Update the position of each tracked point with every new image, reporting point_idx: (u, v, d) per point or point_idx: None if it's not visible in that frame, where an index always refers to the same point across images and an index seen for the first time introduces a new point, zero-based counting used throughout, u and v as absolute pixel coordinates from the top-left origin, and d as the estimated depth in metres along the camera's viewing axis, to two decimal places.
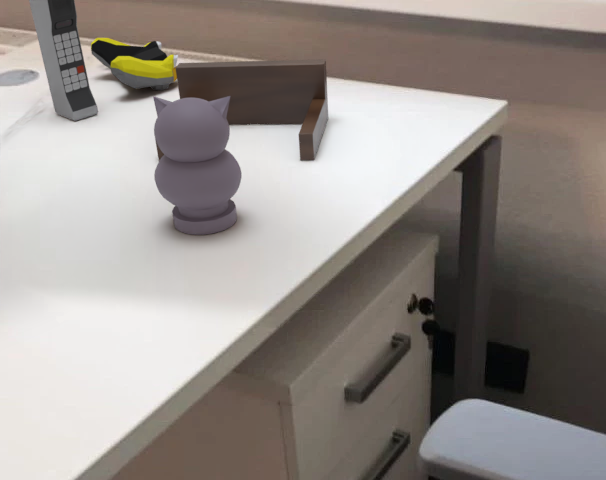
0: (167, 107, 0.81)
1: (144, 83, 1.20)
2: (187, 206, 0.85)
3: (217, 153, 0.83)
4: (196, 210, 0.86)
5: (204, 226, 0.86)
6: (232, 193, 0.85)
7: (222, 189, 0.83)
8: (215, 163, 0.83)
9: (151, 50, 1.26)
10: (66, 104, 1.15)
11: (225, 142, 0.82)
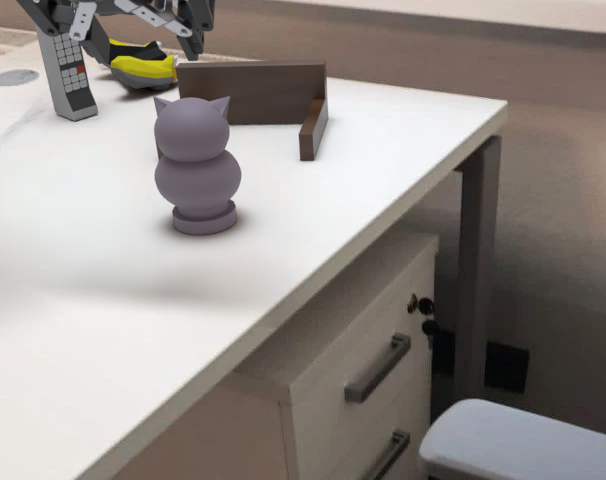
0: (167, 107, 0.81)
1: (144, 83, 1.20)
2: (187, 207, 0.85)
3: (217, 153, 0.83)
4: (196, 210, 0.86)
5: (204, 226, 0.86)
6: (232, 193, 0.85)
7: (222, 189, 0.83)
8: (215, 163, 0.83)
9: (151, 50, 1.26)
10: (66, 104, 1.15)
11: (225, 142, 0.82)
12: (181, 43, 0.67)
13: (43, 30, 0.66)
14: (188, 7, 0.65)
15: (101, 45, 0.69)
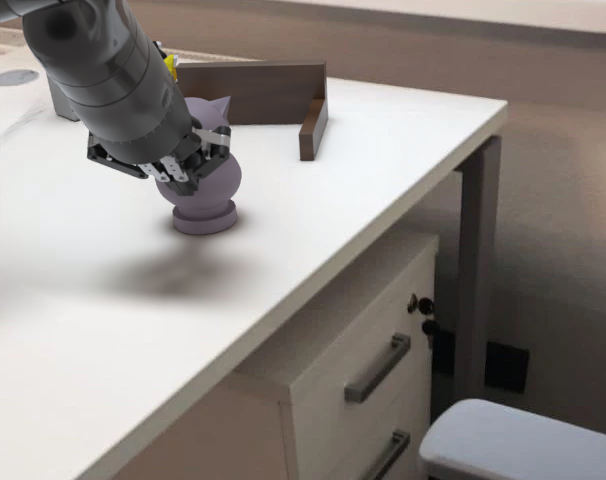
0: None
1: None
2: (188, 206, 0.85)
3: None
4: (196, 210, 0.86)
5: (204, 226, 0.86)
6: (232, 193, 0.85)
7: (222, 189, 0.84)
8: None
9: None
10: (66, 104, 1.15)
11: None
12: (179, 185, 0.79)
13: (136, 176, 0.78)
14: (185, 159, 0.77)
15: None
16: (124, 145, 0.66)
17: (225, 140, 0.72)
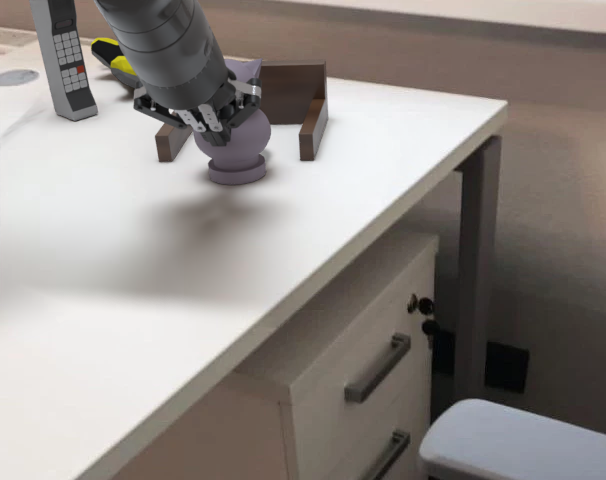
0: None
1: None
2: (221, 158, 0.94)
3: None
4: (228, 162, 0.95)
5: (235, 177, 0.95)
6: (261, 147, 0.94)
7: (252, 142, 0.93)
8: None
9: None
10: (66, 104, 1.15)
11: None
12: (214, 135, 0.89)
13: (175, 126, 0.87)
14: (220, 110, 0.86)
15: None
16: (170, 90, 0.75)
17: (256, 90, 0.82)
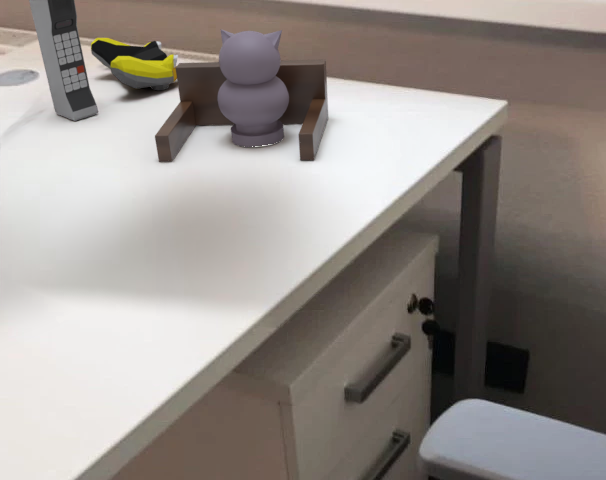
0: (230, 37, 0.99)
1: (144, 83, 1.20)
2: (242, 122, 1.02)
3: (268, 78, 1.00)
4: (249, 126, 1.03)
5: (255, 140, 1.03)
6: (279, 113, 1.02)
7: (270, 108, 1.01)
8: (266, 86, 1.00)
9: (151, 50, 1.26)
10: (66, 104, 1.15)
11: (275, 69, 1.00)
12: None
13: None
14: None
15: None
16: None
17: None
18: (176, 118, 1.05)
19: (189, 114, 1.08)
